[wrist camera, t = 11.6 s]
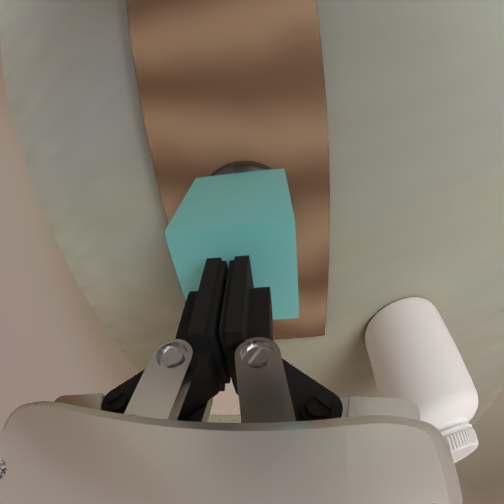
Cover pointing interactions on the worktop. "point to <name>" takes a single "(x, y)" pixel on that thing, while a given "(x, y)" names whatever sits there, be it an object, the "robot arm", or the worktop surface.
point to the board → (241, 113)
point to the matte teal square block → (239, 233)
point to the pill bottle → (424, 369)
